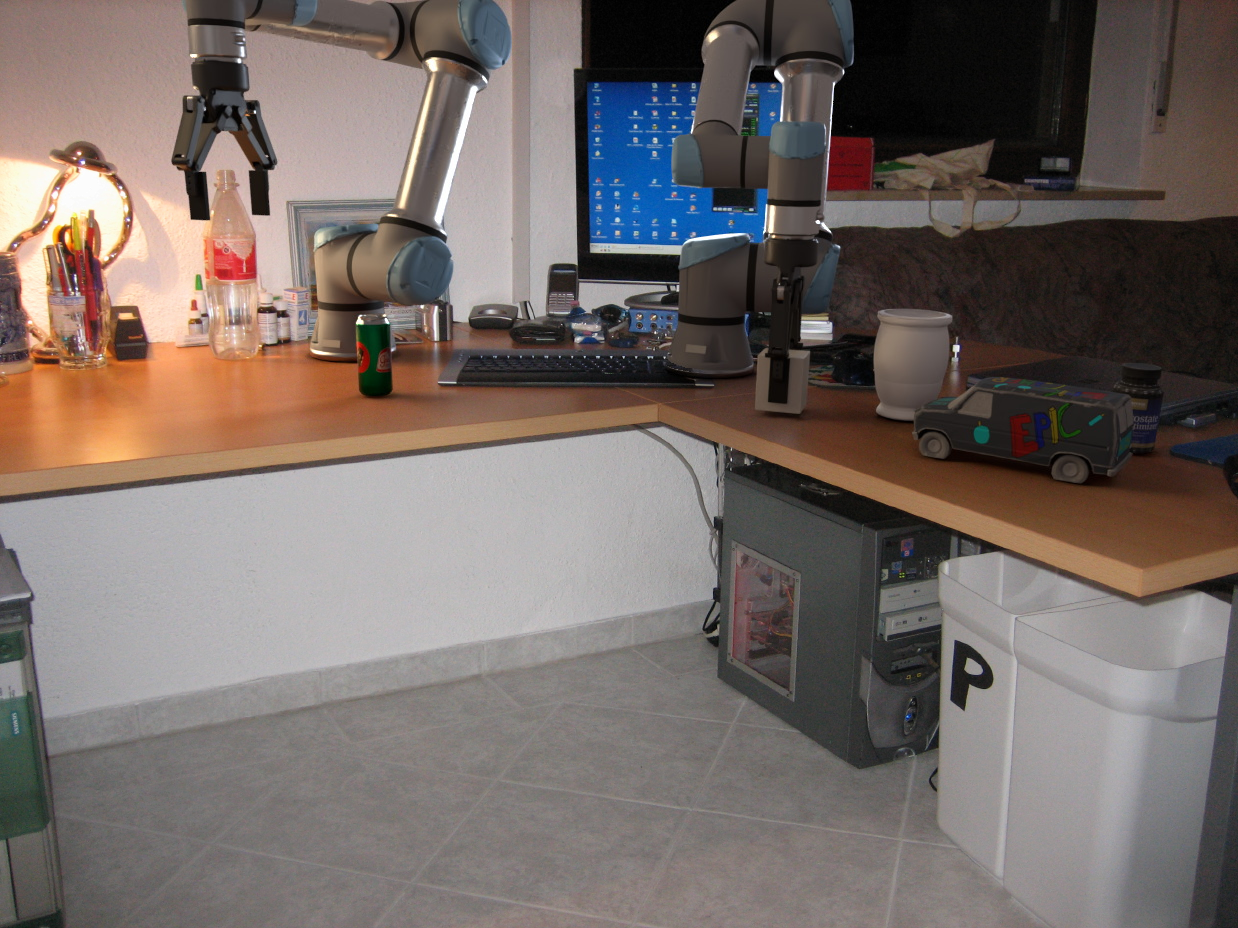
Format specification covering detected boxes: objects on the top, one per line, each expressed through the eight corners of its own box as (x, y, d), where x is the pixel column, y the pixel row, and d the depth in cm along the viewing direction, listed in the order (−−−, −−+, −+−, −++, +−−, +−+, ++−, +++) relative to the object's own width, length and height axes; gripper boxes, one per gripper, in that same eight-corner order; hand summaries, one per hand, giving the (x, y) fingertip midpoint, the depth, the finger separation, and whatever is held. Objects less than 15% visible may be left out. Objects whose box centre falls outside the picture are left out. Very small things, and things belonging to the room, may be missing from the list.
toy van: (934, 436, 145) (942, 364, 142) (1131, 470, 131) (1144, 390, 128) (905, 453, 136) (913, 376, 134) (1112, 490, 123) (1125, 406, 120)
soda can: (384, 398, 160) (381, 318, 157) (353, 396, 161) (349, 317, 158) (398, 391, 165) (395, 314, 162) (367, 389, 166) (363, 312, 163)
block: (800, 414, 153) (803, 358, 151) (754, 409, 155) (757, 355, 153) (806, 404, 159) (810, 351, 156) (762, 400, 161) (765, 347, 158)
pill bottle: (1117, 454, 138) (1130, 370, 135) (1094, 442, 144) (1106, 361, 140) (1163, 454, 138) (1177, 370, 135) (1139, 442, 144) (1152, 361, 141)
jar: (854, 409, 159) (862, 309, 155) (910, 404, 163) (920, 306, 159) (898, 426, 150) (909, 320, 146) (957, 420, 154) (969, 317, 150)
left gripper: (180, 53, 136) (195, 223, 142) (295, 68, 159) (304, 214, 165) (132, 53, 138) (149, 221, 144) (252, 68, 161) (263, 212, 167)
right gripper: (808, 244, 140) (796, 414, 147) (827, 232, 157) (816, 386, 164) (751, 241, 142) (742, 409, 149) (777, 230, 159) (768, 382, 166)
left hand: (232, 218), depth 155 cm, fingers open, 13 cm apart
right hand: (781, 397), depth 156 cm, fingers closed on block, 6 cm apart
